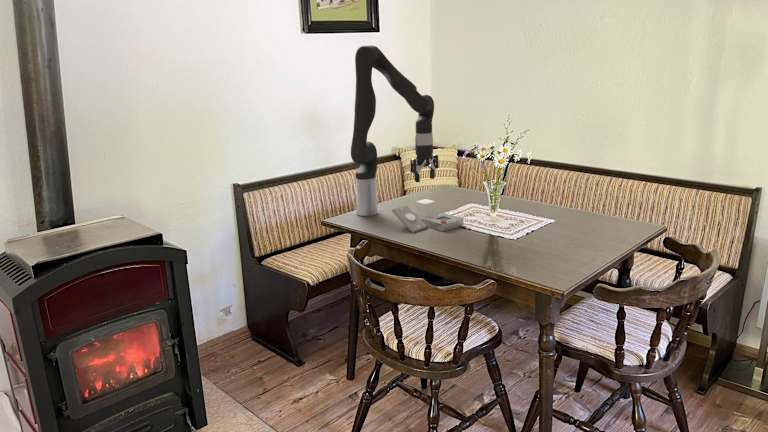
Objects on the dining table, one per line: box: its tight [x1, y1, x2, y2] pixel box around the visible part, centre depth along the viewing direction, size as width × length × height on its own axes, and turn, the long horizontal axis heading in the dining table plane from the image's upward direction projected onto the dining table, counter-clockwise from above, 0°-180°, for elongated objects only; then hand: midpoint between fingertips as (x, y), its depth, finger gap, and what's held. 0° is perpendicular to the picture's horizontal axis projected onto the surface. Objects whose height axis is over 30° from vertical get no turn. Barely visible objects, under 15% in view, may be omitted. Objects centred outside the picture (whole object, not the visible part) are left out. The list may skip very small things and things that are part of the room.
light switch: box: [391, 205, 429, 234], centre depth 249 cm, size 8×6×14 cm
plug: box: [415, 198, 437, 220], centre depth 257 cm, size 6×6×8 cm
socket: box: [422, 212, 464, 232], centre depth 249 cm, size 12×12×4 cm
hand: (424, 180), depth 253 cm, fingers open, 8 cm apart
